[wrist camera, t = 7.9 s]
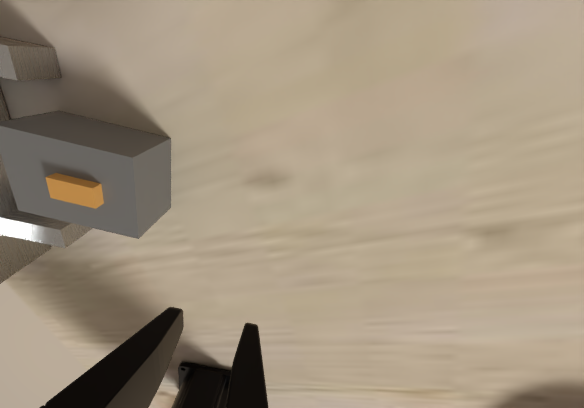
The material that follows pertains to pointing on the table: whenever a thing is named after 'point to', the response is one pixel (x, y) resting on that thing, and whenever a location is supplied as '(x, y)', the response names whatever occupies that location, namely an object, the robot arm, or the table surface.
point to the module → (87, 171)
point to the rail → (3, 209)
